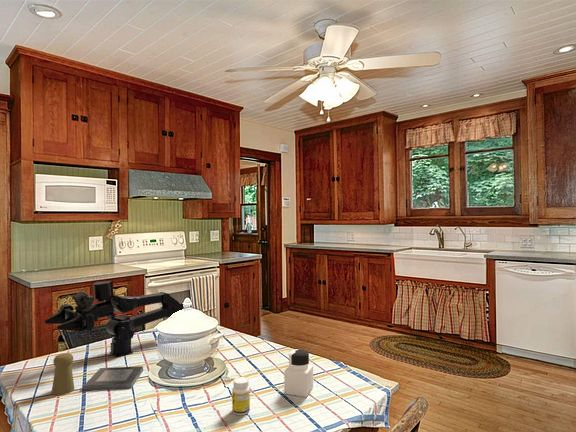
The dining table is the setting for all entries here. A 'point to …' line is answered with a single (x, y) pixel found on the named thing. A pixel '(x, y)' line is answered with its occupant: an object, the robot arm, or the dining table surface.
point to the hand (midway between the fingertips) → (50, 324)
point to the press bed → (114, 378)
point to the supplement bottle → (241, 396)
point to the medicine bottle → (298, 374)
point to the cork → (63, 374)
